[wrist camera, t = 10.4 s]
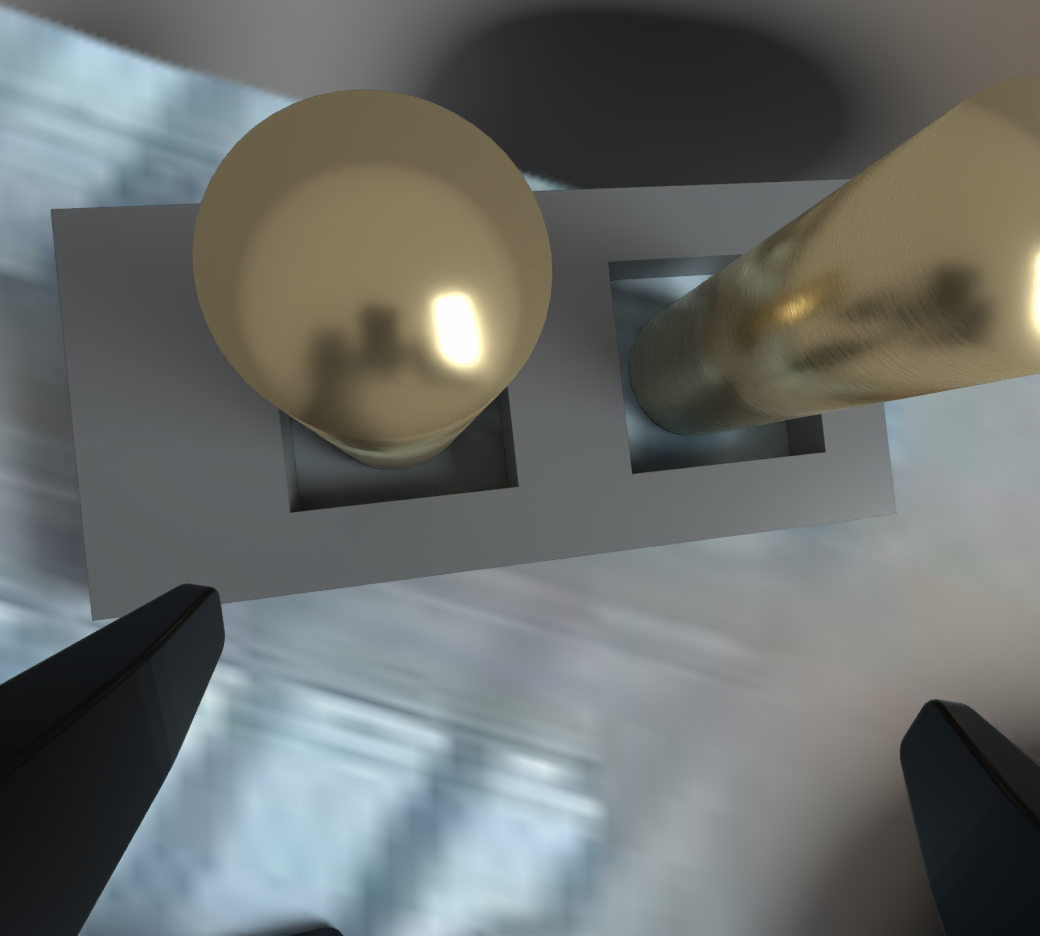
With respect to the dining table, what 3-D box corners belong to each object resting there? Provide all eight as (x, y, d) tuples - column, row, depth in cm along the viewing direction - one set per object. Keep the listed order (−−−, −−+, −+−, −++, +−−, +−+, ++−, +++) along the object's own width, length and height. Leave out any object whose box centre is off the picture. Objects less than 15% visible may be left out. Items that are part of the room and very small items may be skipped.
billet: (637, 442, 23) (937, 380, 10) (622, 309, 23) (900, 78, 10) (761, 429, 24) (1186, 356, 11) (746, 300, 24) (1151, 75, 11)
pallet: (122, 607, 20) (92, 621, 18) (85, 236, 20) (50, 209, 18) (856, 512, 24) (896, 514, 22) (820, 204, 24) (857, 178, 22)
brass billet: (328, 477, 21) (211, 455, 8) (313, 333, 21) (175, 91, 8) (472, 462, 22) (570, 422, 9) (457, 323, 22) (533, 87, 9)
